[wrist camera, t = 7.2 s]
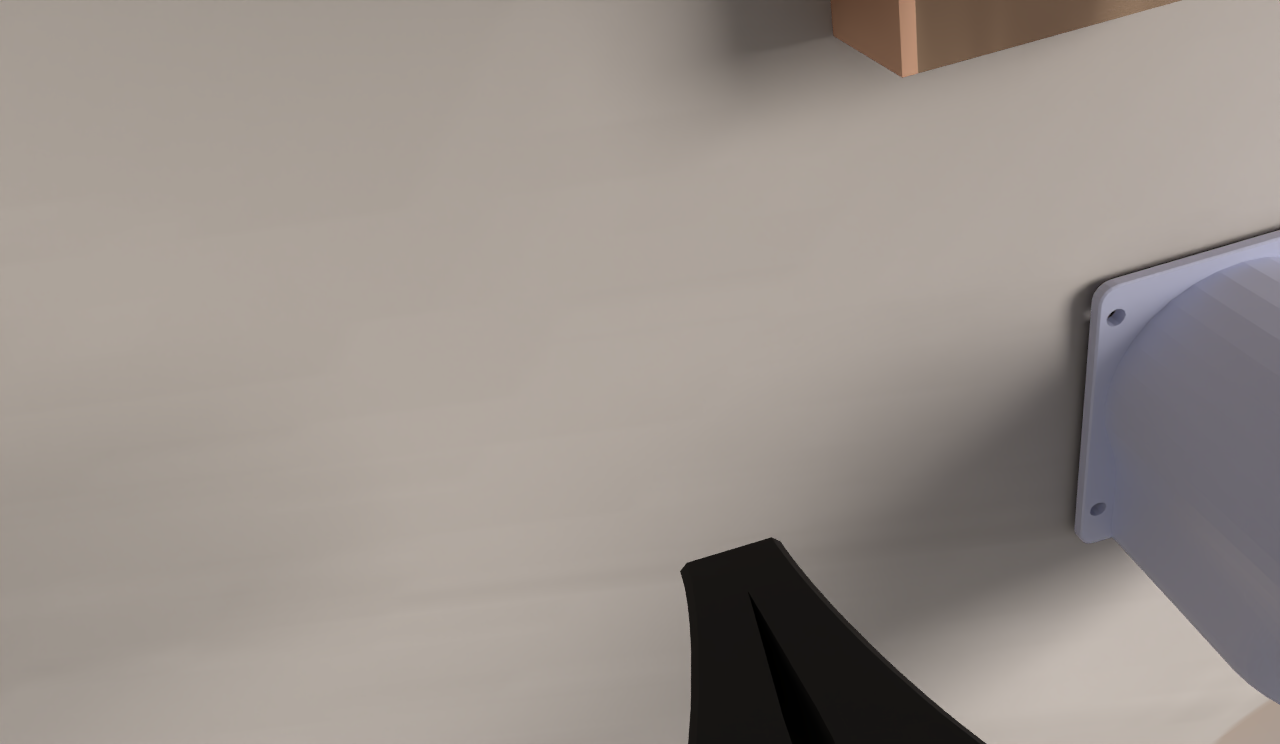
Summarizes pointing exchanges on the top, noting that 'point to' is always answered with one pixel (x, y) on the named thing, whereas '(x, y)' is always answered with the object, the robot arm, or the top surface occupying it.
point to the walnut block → (962, 26)
